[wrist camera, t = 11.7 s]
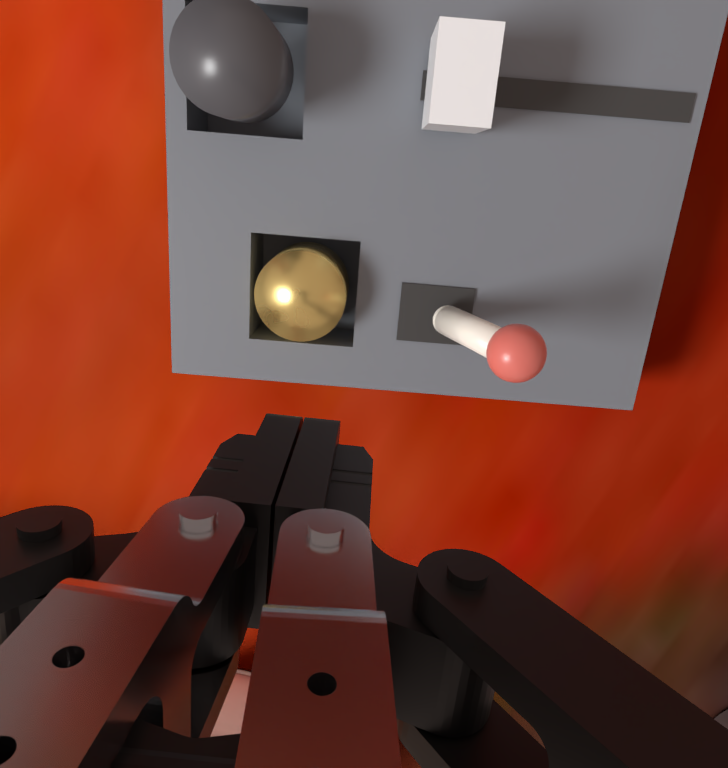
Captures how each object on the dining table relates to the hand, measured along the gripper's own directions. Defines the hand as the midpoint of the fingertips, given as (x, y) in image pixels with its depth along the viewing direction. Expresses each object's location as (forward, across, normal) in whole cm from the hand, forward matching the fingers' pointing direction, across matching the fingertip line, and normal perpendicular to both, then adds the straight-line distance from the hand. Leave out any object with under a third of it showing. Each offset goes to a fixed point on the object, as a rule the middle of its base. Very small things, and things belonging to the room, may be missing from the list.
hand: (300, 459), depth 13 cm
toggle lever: (+14, -4, 0) cm, 14 cm away
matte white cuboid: (+14, -3, -9) cm, 17 cm away
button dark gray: (+14, +4, -9) cm, 17 cm away
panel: (+18, -3, -5) cm, 19 cm away
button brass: (+16, +2, -1) cm, 16 cm away
